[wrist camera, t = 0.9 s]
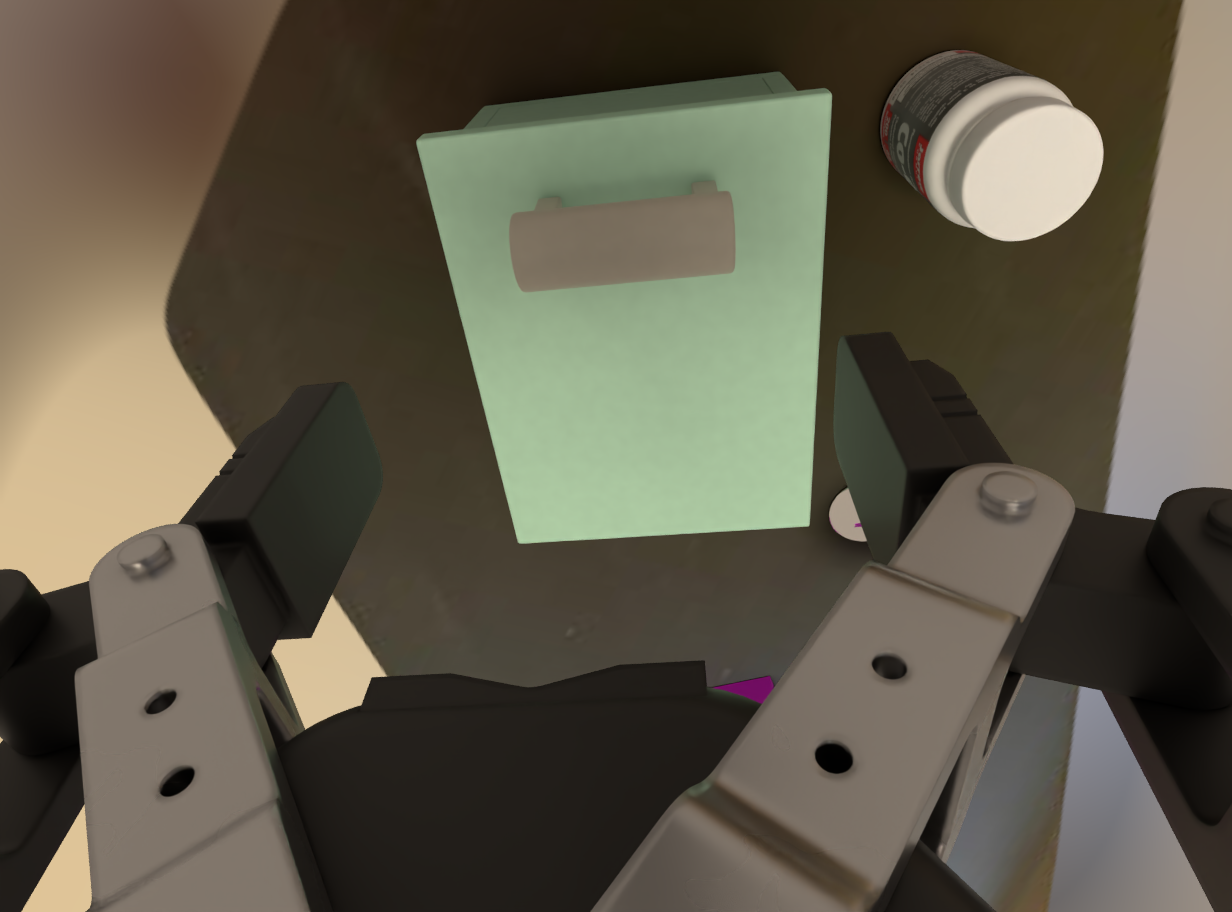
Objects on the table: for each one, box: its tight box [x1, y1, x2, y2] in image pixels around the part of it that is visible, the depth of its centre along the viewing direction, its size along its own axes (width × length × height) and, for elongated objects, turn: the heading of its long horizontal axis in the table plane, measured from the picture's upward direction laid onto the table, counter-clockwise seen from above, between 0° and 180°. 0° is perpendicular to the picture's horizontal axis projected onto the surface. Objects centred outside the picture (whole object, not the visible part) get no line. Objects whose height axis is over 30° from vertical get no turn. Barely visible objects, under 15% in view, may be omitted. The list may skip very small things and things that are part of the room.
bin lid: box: [416, 88, 832, 544], centre depth 23 cm, size 16×12×5 cm
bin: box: [464, 72, 797, 129], centre depth 29 cm, size 15×12×9 cm
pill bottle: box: [880, 50, 1103, 241], centre depth 25 cm, size 5×5×8 cm
